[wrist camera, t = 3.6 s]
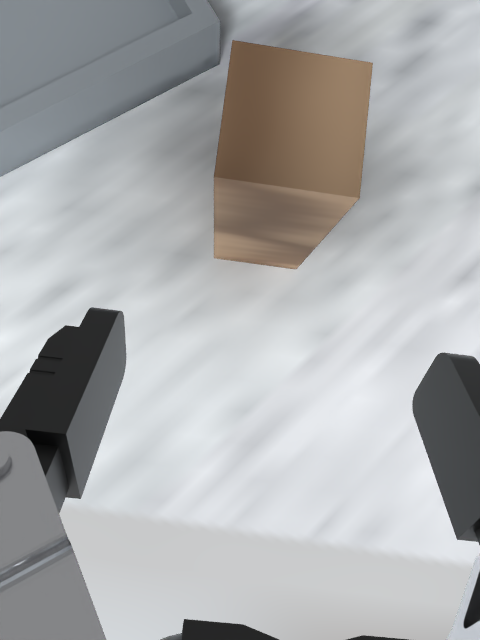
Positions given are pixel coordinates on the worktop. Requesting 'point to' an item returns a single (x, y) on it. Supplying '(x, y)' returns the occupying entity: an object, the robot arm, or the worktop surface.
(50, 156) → the worktop surface
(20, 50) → the parts tray
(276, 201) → the block
